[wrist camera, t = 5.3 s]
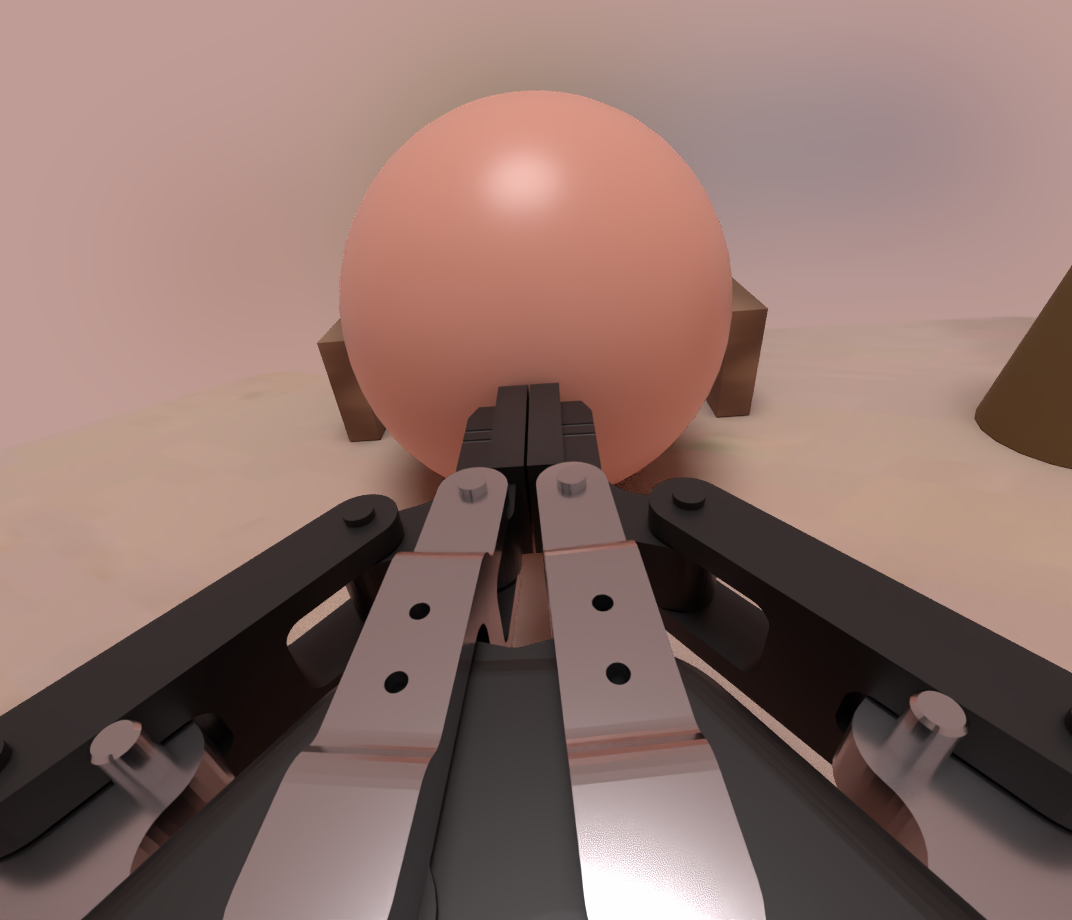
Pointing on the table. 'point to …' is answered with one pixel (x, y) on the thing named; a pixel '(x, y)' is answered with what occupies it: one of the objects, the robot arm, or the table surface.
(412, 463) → the table surface
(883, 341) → the table surface
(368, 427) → the stall
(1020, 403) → the cork
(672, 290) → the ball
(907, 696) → the robot arm
